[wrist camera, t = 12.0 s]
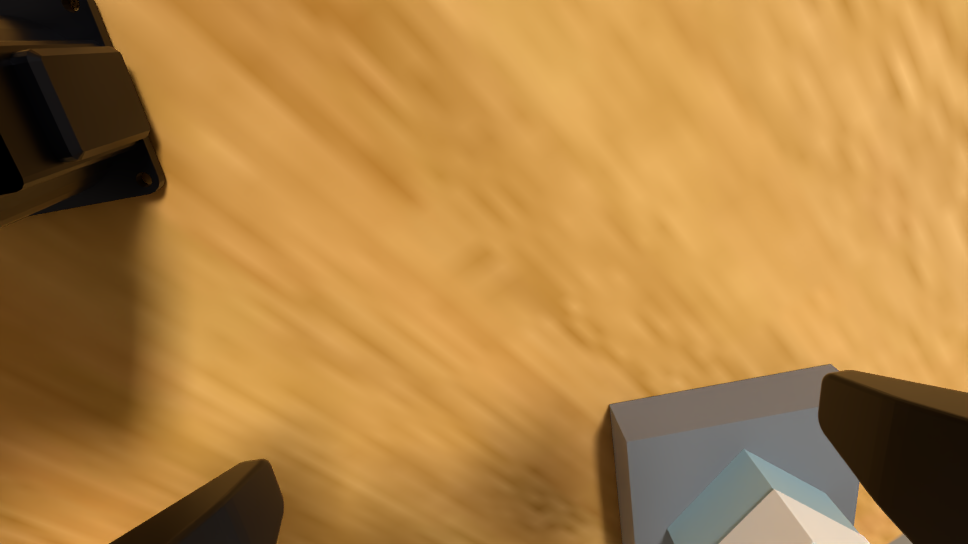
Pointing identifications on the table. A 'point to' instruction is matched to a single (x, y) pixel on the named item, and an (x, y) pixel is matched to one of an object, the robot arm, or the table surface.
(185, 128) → the table surface
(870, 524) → the table surface
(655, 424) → the podium
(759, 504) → the carton
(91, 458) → the table surface
